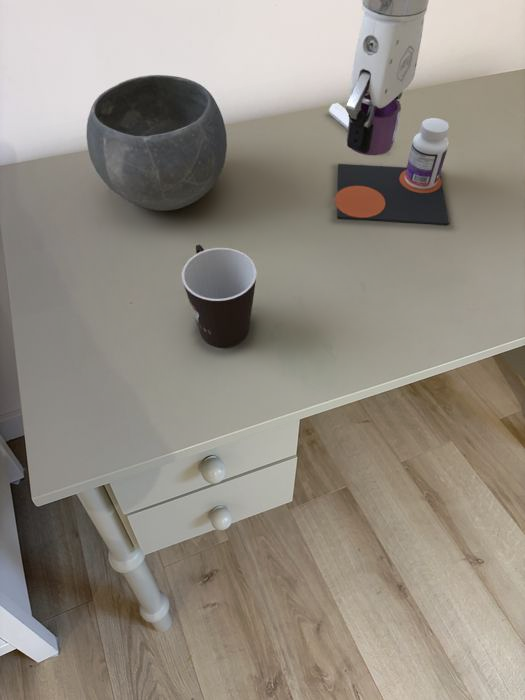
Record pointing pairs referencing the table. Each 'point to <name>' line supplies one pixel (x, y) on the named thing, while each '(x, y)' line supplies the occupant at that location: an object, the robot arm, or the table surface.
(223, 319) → the coffee mug
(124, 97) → the bowl
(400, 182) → the placemat
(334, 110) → the white pencil
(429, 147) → the pill bottle
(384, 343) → the table surface
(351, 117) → the robot arm
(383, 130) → the cup
